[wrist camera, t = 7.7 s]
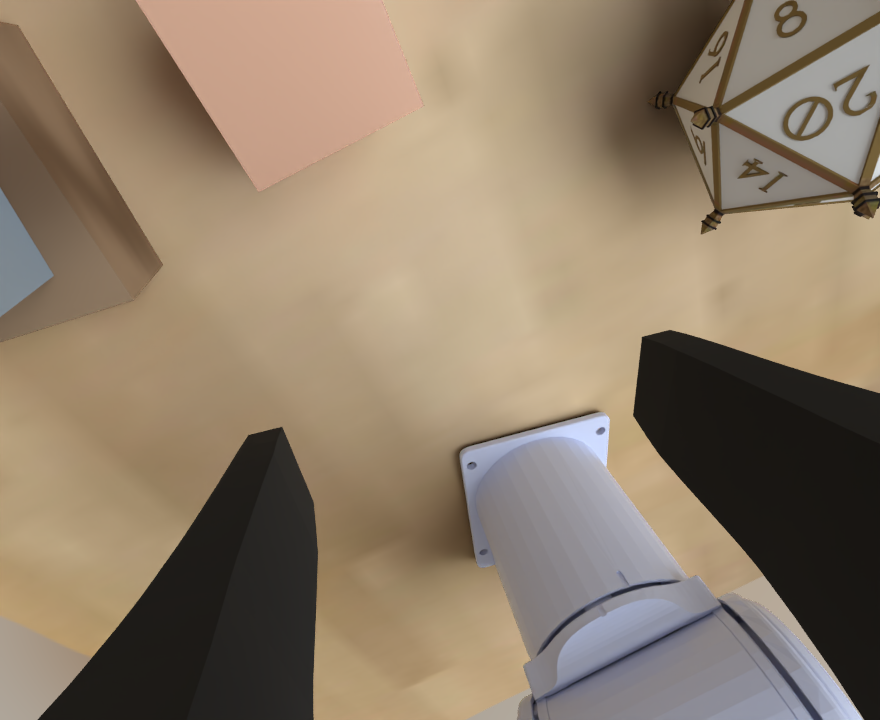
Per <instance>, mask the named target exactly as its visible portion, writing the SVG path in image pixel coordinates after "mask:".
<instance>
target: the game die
mask: <svg viewBox="0 0 880 720" xmlns="http://www.w3.org/2000/svg"><path fill="white" fill-rule="evenodd" d="M648 103H650V104H652V105H654V106H655V108H656V109H660V108H662V107H663V108H667V106H670V105H673V107H674V109H675V112H676V114H677V117H678V119H679V122H680V124H681V127H682V129H683V131H684V134H685V136H686V139H687V141H688V144H689V146H690V149H691V151H692V154H693V156H694V159H695V161H696V164H697V166H698V169H699V171H700V174H701V176H702V178H703V181H704V183H705V186H706V188H707V191H708V193H709V196H710V198H711V201H712V203H713V206H714V208H715V209H714V211H713V212H712V213H711V214H709V215H707V218H706V219H705V220H702V221H701V222H702V229H701V234H704V233H706V232H709V231H711V230H713V229H715V230H716V229H717V228H716V226H717V225H718V223H719V224H720V223H721V222H720V220H721V218H722V216H723V215H724V214H730V213H741V212H751V211H762V210H772V209H782V208H793V207H803V206H814V205H824V204H834V203H845V202H851V204H853V206H852V208H853V210H854V211H855V212H854V214H856V215H858V216H860V217H861V216H863V217H865V218H867V219H869V218H870V217H871V218H874V215H875V212H876V209H878V208H879V206H880V198H878V197H877V195H878V192H877V191H876V192H873V191H875V190H876V189H877V188H879V187H880V0H732V2H731V4H730V5H729V7H728V9H727V10H726V12H725V13H724V15H723V17H722V18H721V20H720V22H719V23H718V25H717V26H716V28H715V30H714V31H713V33H712V34H711V36H710V38H709V39H708V41H707V43H706V44H705V46H704V47H703V49H702V51H701V52H700V54H699V56H698V57H697V59H696V60H695V62H694V64H693V65H692V67H691V69H690V70H689V72H688V73H687V75H686V77H685V78H684V80H683V81H682V83H681V85H680V86H679V88H678V90H677V91H676V93H675V94H669V93H668V91H666V93H661V92H659V93H658V94H657V95H656V96H655V97H653V98H652V99H650V100H649V101H648Z"/></svg>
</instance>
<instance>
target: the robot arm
mask: <svg viewBox="0 0 880 720" xmlns="http://www.w3.org/2000/svg"><path fill="white" fill-rule="evenodd" d="M633 416H634V417H635V419H636V421H637V422H638V424H639V425H640V427H641V428H642V430H643V431H644V433H645V435H646V436H647V438H648V439H649V441H650V442H651V443H652V445H653V446H654V448H655V449H656V451H657V452H658V453H659V455H660V456H661V457H662V458H663V460H664V461H665V462H666V463H667V464H668V465H669V467H670V468H671V469H672V470H673V471H674V472H675V473H676V475H677V476H678V477H679V478H680V479H681V480H682V481H683V483H684V484H685V485H686V486H687V487H688V488H689V489H690V490H691V492H692V493H693V494H694V495H695V496H696V497H697V498H698V499H699V500H700V502H701V503H702V504H703V505H704V506H705V507H706V508H707V509H708V510H709V512H710V513H711V514H712V515H713V516H714V517H715V518H716V519H717V520H718V522H719V523H720V524H721V525H722V526H723V527H724V528H725V529H726V531H727V532H728V533H729V534H730V535H731V536H732V537H733V538H734V539H735V541H736V542H737V543H738V544H739V545H740V546H741V547H742V549H743V550H744V551H745V552H746V553H747V555H748V556H749V557H750V558H751V559H752V561H753V562H754V563H755V564H756V566H757V567H758V568H759V569H760V571H761V572H762V573H763V575H764V576H765V577H766V579H767V580H768V581H769V583H770V584H771V585H772V587H773V588H774V590H775V591H776V592H777V594H778V595H779V596H780V598H781V599H782V600H783V602H784V603H785V604H786V606H787V607H788V609H789V610H790V611H791V613H792V614H793V615H794V617H795V618H796V620H797V621H798V622H799V624H800V625H801V627H802V628H803V629H804V631H805V632H806V634H807V635H808V637H809V638H810V640H811V641H812V642H813V644H814V645H815V647H816V648H817V650H818V651H819V653H820V654H821V655H822V657H823V658H824V660H825V661H826V662H827V664H828V665H829V667H830V668H831V670H832V671H833V673H834V674H835V676H836V677H837V679H838V680H839V682H840V683H841V685H842V686H843V688H844V689H845V691H846V693H847V694H848V696H849V697H850V698H851V700H852V702H853V703H854V705H855V706H856V708H857V709H858V711H859V712H860V714H861V715H862V717H863V719H864V720H880V393H876V392H873V391H869V390H866V389H862V388H859V387H855V386H852V385H848V384H844V383H841V382H837V381H834V380H830V379H827V378H824V377H820V376H817V375H814V374H810V373H807V372H804V371H801V370H798V369H794V368H791V367H788V366H785V365H782V364H779V363H776V362H772V361H769V360H766V359H763V358H760V357H757V356H754V355H751V354H748V353H745V352H742V351H739V350H736V349H733V348H730V347H727V346H724V345H720V344H717V343H714V342H711V341H708V340H705V339H701V338H698V337H695V336H691V335H688V334H684V333H680V332H676V331H672V330H668V331H664V332H660V333H656V334H652V335H648V336H644V337H642V343H641V352H640V360H639V369H638V378H637V387H636V395H635V404H634V413H633ZM609 423H610V420H609V417H608V416H607V415H606V414H605V413H603V412H597V413H594V414H590V415H586V416H582V417H579V418H575V419H571V420H567V421H563V422H560V423H556V424H552V425H548V426H545V427H541V428H537V429H533V430H529V431H526V432H522V433H518V434H514V435H510V436H507V437H503V438H499V439H495V440H492V441H488V442H484V443H480V444H476V445H473V446H469V447H466V448H464V449H463V450H462V451H461V452H460V455H459V458H460V464H461V470H462V477H463V483H464V489H465V496H466V502H467V509H468V515H469V521H470V528H471V534H472V540H473V547H474V553H475V559H476V563H477V565H478V566H479V567H482V568H484V567H488V566H492V565H495V566H496V569H497V571H498V574H499V577H500V579H501V582H502V585H503V588H504V590H505V593H506V596H507V598H508V601H509V604H510V607H511V609H512V612H513V615H514V617H515V620H516V623H517V626H518V628H519V631H520V634H521V636H522V639H523V642H524V644H525V647H526V650H527V653H528V655H529V657H530V659H531V661H529V662H527V663H526V664H524V666H523V668H524V671H525V674H526V676H527V679H528V682H529V685H530V688H531V690H532V694H530V695H528V696H526V697H524V698H523V699H522V700H521V702H520V703H519V708H518V717H517V720H862V718H861V717H860V715H859V714H858V712H857V711H856V710H855V708H854V707H853V705H852V704H851V703H850V701H849V700H848V699H847V697H846V696H845V695H844V693H843V692H842V691H841V689H840V688H839V687H838V685H837V684H836V683H835V682H834V680H833V679H832V678H831V677H830V676H829V674H828V673H827V672H826V670H825V669H824V668H823V667H822V665H821V664H820V663H819V662H818V661H817V659H816V658H815V657H814V656H813V655H812V654H811V652H810V651H809V650H808V649H807V648H806V647H805V646H804V645H803V643H802V642H801V641H800V640H799V639H798V638H797V637H796V636H795V635H794V634H793V633H792V632H791V630H790V629H789V628H788V627H787V626H786V625H785V624H784V623H783V622H782V621H781V620H780V619H778V618H777V617H776V616H775V615H774V614H773V613H772V612H771V611H769V610H768V609H767V608H765V607H764V606H762V605H761V604H759V603H757V602H754V601H751V600H748V599H745V598H742V597H741V596H739V595H738V594H735V593H726V594H724V595H722V596H721V597H719V598H717V599H716V598H715V596H714V595H713V594H712V592H711V591H710V590H709V589H708V587H707V586H706V585H705V583H704V582H703V581H702V579H701V578H700V577H699V576H697V575H695V576H693V577H691V578H688V576H687V575H686V574H685V572H684V571H683V570H682V568H681V567H680V566H679V564H678V563H677V562H676V560H675V559H674V558H673V556H672V555H671V554H670V552H669V551H668V550H667V548H666V547H665V546H664V544H663V543H662V542H661V540H660V539H659V538H658V536H657V535H656V534H655V532H654V531H653V530H652V528H651V527H650V526H649V524H648V523H647V522H646V520H645V519H644V518H643V516H642V515H641V514H640V512H639V511H638V510H637V508H636V507H635V506H634V504H633V503H632V502H631V500H630V499H629V498H628V496H627V495H626V494H625V492H624V491H623V490H622V488H621V487H620V486H619V484H618V483H617V481H616V480H615V479H614V477H613V476H612V475H611V473H610V472H609V471H608V469H607V468H606V465H607V451H608V437H609ZM598 428H600V429H598ZM470 462H473V463H472V464H469V463H470ZM468 464H469V465H468ZM317 565H318V548H317V535H316V523H315V513H314V502H313V500H312V497H311V495H310V492H309V490H308V488H307V485H306V483H305V480H304V478H303V476H302V473H301V471H300V468H299V466H298V464H297V461H296V459H295V456H294V454H293V452H292V449H291V447H290V444H289V442H288V440H287V437H286V435H285V432H284V430H283V428H282V427H280V428H276V429H272V430H268V431H264V432H260V433H256V434H252V435H248V437H247V438H246V440H245V441H244V443H243V445H242V446H241V448H240V449H239V451H238V452H237V454H236V455H235V457H234V459H233V460H232V462H231V464H230V465H229V467H228V468H227V470H226V472H225V473H224V475H223V477H222V478H221V480H220V481H219V483H218V485H217V486H216V488H215V489H214V491H213V493H212V494H211V496H210V497H209V499H208V500H207V502H206V504H205V505H204V507H203V508H202V510H201V511H200V513H199V514H198V516H197V517H196V519H195V520H194V522H193V523H192V525H191V527H190V528H189V530H188V531H187V533H186V534H185V536H184V537H183V539H182V540H181V542H180V543H179V545H178V546H177V547H176V549H175V550H174V552H173V553H172V554H171V556H170V557H169V559H168V560H167V561H166V563H165V564H164V566H163V567H162V568H161V570H160V571H159V573H158V574H157V575H156V577H155V578H154V580H153V581H152V582H151V584H150V585H149V587H148V588H147V589H146V591H145V592H144V594H143V595H142V596H141V598H140V599H139V600H138V601H137V603H136V604H135V605H134V607H133V608H132V609H131V611H130V612H129V613H128V614H127V616H126V617H125V618H124V619H123V621H122V622H121V623H120V624H119V626H118V627H117V628H116V630H115V631H114V632H113V633H112V634H111V636H110V637H109V638H108V639H107V640H106V642H105V643H104V644H103V645H102V646H101V648H100V649H99V650H98V651H97V652H96V654H95V655H94V656H93V657H92V659H91V660H90V661H89V662H88V663H87V665H86V666H85V667H84V668H83V669H82V671H81V672H80V673H79V674H78V675H77V676H76V678H75V679H74V680H73V681H72V683H70V685H69V686H68V687H67V688H66V689H65V690H64V691H63V692H62V694H61V695H60V696H59V697H58V698H57V699H56V700H55V701H54V702H53V703H52V705H51V706H50V707H49V708H48V709H47V710H46V711H45V712H44V713H43V714H42V715H41V717H40V718H39V719H38V720H314V718H313V672H314V646H315V621H316V595H317Z"/></svg>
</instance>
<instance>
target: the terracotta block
mask: <svg viewBox="0 0 880 720" xmlns="http://www.w3.org/2000/svg"><path fill="white" fill-rule="evenodd" d="M136 2H137V3H138V5H139V6H140V8H141V9H142V11H143V13H144V14H145V16H146V17H147V19H148V20H149V22H150V23H151V25H152V27H153V28H154V30H155V31H156V33H157V34H158V36H159V38H160V39H161V41H162V42H163V44H164V45H165V47H166V48H167V50H168V52H169V53H170V55H171V56H172V58H173V59H174V61H175V62H176V64H177V66H178V67H179V69H180V70H181V72H182V73H183V75H184V76H185V78H186V80H187V81H188V83H189V84H190V86H191V87H192V89H193V91H194V92H195V94H196V95H197V97H198V98H199V100H200V101H201V103H202V105H203V106H204V108H205V109H206V111H207V112H208V114H209V115H210V117H211V119H212V120H213V122H214V123H215V125H216V126H217V128H218V130H219V131H220V133H221V134H222V136H223V137H224V139H225V140H226V142H227V144H228V145H229V147H230V148H231V150H232V151H233V153H234V154H235V156H236V158H237V159H238V161H239V162H240V164H241V165H242V167H243V168H244V170H245V172H246V173H247V175H248V176H249V178H250V179H251V181H252V183H253V184H254V186H255V187H256V189H257V190H258V192H260V191H262V190H264V189H266V188H268V187H270V186H271V185H273V184H275V183H277V182H279V181H281V180H283V179H285V178H287V177H289V176H291V175H293V174H295V173H296V172H298V171H300V170H302V169H304V168H306V167H308V166H310V165H312V164H314V163H316V162H318V161H320V160H321V159H323V158H325V157H327V156H329V155H331V154H333V153H335V152H337V151H339V150H341V149H343V148H345V147H346V146H348V145H350V144H352V143H354V142H356V141H358V140H360V139H362V138H364V137H366V136H368V135H370V134H371V133H373V132H375V131H377V130H379V129H381V128H383V127H385V126H387V125H389V124H391V123H393V122H394V121H396V120H398V119H400V118H402V117H404V116H406V115H408V114H410V113H412V112H414V111H416V110H418V109H419V108H421V107H423V106H424V104H423V102H422V99H421V97H420V94H419V92H418V89H417V87H416V84H415V82H414V79H413V77H412V74H411V71H410V69H409V66H408V64H407V61H406V59H405V56H404V54H403V51H402V49H401V46H400V44H399V41H398V39H397V36H396V33H395V31H394V28H393V26H392V23H391V21H390V18H389V16H388V13H387V11H386V8H385V6H384V3H383V1H382V0H136Z"/></svg>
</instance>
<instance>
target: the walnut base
mask: <svg viewBox="0 0 880 720" xmlns="http://www.w3.org/2000/svg"><path fill="white" fill-rule="evenodd" d="M0 188H1V190H2V191H3V193H4V195H5V196H6V198H7V199H8V201H9V203H10V204H11V206H12V208H13V209H14V211H15V213H16V214H17V216H18V217H19V219H20V221H21V222H22V224H23V226H24V227H25V229H26V231H27V232H28V234H29V235H30V237H31V239H32V240H33V242H34V244H35V245H36V247H37V249H38V250H39V252H40V253H41V255H42V257H43V258H44V260H45V262H46V263H47V265H48V267H49V268H50V270H51V271H52V273H53V275H54V276H53V277H52V278H50V279H49V280H48V281H46V282H45V283H44V284H43V285H41V286H40V287H39V288H37V289H36V290H35V291H33V292H32V293H31V294H30V295H28V296H27V297H26V298H24V299H23V300H22V301H20V302H19V303H18V304H17V305H15V306H14V307H13V308H11V309H10V310H9V311H7V312H6V313H5V314H4V315H2V316H1V317H0V342H3V341H6V340H9V339H12V338H15V337H19V336H22V335H25V334H28V333H31V332H34V331H38V330H41V329H44V328H47V327H50V326H53V325H57V324H60V323H63V322H66V321H69V320H72V319H76V318H79V317H82V316H85V315H88V314H91V313H94V312H98V311H101V310H104V309H107V308H110V307H113V306H117V305H120V304H123V303H126V302H129V301H132V300H134V299H135V298H136V297H137V296H138V294H139V293H140V292H141V291H142V290H143V288H144V287H145V286H146V285H147V284H148V282H149V281H150V280H151V279H152V278H153V276H154V275H155V274H156V273H157V272H158V270H159V269H160V268H161V267H162V266H163V264H162V262H161V261H160V259H159V258H158V256H157V254H156V253H155V251H154V249H153V248H152V246H151V244H150V243H149V241H148V239H147V238H146V236H145V234H144V233H143V231H142V229H141V228H140V226H139V224H138V223H137V221H136V220H135V218H134V216H133V215H132V213H131V211H130V210H129V208H128V206H127V205H126V203H125V201H124V200H123V198H122V196H121V195H120V193H119V191H118V190H117V188H116V186H115V185H114V183H113V182H112V180H111V178H110V177H109V175H108V173H107V172H106V170H105V168H104V167H103V165H102V163H101V162H100V160H99V158H98V157H97V155H96V153H95V152H94V150H93V148H92V147H91V145H90V144H89V142H88V140H87V139H86V137H85V135H84V134H83V132H82V130H81V129H80V127H79V125H78V124H77V122H76V120H75V119H74V117H73V115H72V114H71V112H70V110H69V109H68V107H67V106H66V104H65V102H64V101H63V99H62V97H61V96H60V94H59V92H58V91H57V89H56V87H55V86H54V84H53V82H52V81H51V79H50V77H49V76H48V74H47V72H46V71H45V69H44V68H43V66H42V64H41V63H40V61H39V59H38V58H37V56H36V54H35V53H34V51H33V49H32V48H31V46H30V44H29V43H28V41H27V39H26V38H25V36H24V34H23V33H22V31H21V30H20V28H19V26H18V25H13V24H8V23H3V22H0Z"/></svg>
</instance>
